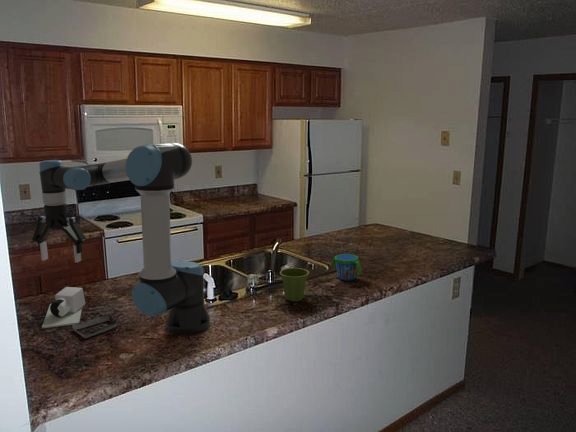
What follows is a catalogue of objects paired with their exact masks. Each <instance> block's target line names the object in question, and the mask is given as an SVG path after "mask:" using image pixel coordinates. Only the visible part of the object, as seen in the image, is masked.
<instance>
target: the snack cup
mask: <svg viewBox="0 0 576 432" xmlns="http://www.w3.org/2000/svg"><path fill="white" fill-rule="evenodd" d="M331 267H332V269H335V268H336V272H337V273H336V276H337V278H338V279H339V280H340V281H344V282H347V281H353V280H355V277H356V276H360V275H361V274H362V273H363V272H362V265H361V262H360V261H359V257H358V256H357V255H355V254H351V253H342V254H341V253H340V254H338V255H335V256H334V257H333V258H332V262H331ZM356 272H357V273H356ZM356 274H357V275H356Z"/></svg>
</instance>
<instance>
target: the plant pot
mask: <svg viewBox="0 0 576 432" xmlns="http://www.w3.org/2000/svg"><path fill="white" fill-rule="evenodd" d="M279 274H280V275H281V280H282V283H283V284H282V286H283V291H284V296H285V299H286V300H287V301H289V302H295V303H296V302H301V301H302V300H303V299H304V296H305V290H306V285H307V284H306V283H307V281H308V277H309V274H310V271H309V270H307V269H305V268H301V267H300V268H299V267H288V268H284V269H281V270H280V271H279Z"/></svg>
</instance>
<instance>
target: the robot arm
mask: <svg viewBox="0 0 576 432" xmlns="http://www.w3.org/2000/svg"><path fill="white" fill-rule="evenodd" d="M38 164H39V173H38V174H39V177H40V178H39V180H40V184H41V185H40V186H41V191H42V192H41V193H42V195H41V196H42V203H43V204H44V205H43V209H44V210H43V211H44V215H41V216H38V217H37V223H36V226H35V227H36V228H35V229H34V233H33V236H32V239H31V240H32V241H33V242H36V243H37V247H38V251H39V252H40V257H41V261H42V262H44V261H47V260H49V254H48V253H49V252H48V246H47V245H48V243H47V241H46V239H47V237H49V235H50V233H51V231H52V230H58V231H63V232H64V233H65V234H66V235H67V236H68V237H69V239H70V240H71V241H72V243H74V244H73V245H72V247H73V254H74V263H79V262H81V261H82V253H83V245H82V244H83V243H86V242H87V238H86V237H85V235H84V233H83V231H82V229H81V228H80V226H79V224H78V221H77V218H76V216H72V217H69V216H68V212H69V211H68V204H67V203H66V202H67V194H66V193H67V192H66V190H73V191H80V190H81V191H82V190H83V191H84V190H85V189H86V188H89V187H94V186H101V185H106V184H111V183H117V182H125V181H130V183H132V184H133V185H134V189H135V191H136V192H137V193H139V195H140V213H141V233H142V234H141V236H142V237H141V238H142V240H141V241H142V257H143V259H142V260H143V268H142V269H141V270H140V271H139V272H138V281H139V282H138V283H136V284H135V285H134V287H133V288H132V289H131V297H132V301H133V304H134V305H135V308H137V309H138V311H139V312H141V313H142V314H143V315H145V316H147V317H157V316H159V315H162V314H165V313H166V312H167V311H168V315H167V318H166V330H167V331H168V332H169V333H172V334H174V335H185V336H187V335H194V334H198V333H201V332H204V331H205V330H208V328H209V327H210V326H211V319H210V315H209V313H208V312H209V311H208V309H207V308H206V305H205V293H204V292H205V291H204V287H205V286H204V272H203V271H204V270H203V266H202V265H201V264H200V263H198V262H194V261H184V260H183V261H182V260H181V261H173V262H172V245H171V242H172V241H171V238H172V237H171V213H170V212H171V210H170V209H171V208H170V206H171V205H170V204H171V203H170V194H171V192H172V191H174V189H175V180H178V179H181V178H183V177H185V176H186V175H187V174H188V173H189V171H190V170H191V168H192V165H193V158H192V155H191V152H190V151H189V149H188V148H187V147H185V146H184V145H183V144H181V143H177V142H166V143H163V142H162V143H149V144H148V143H147V144H143V145H138V146H136V147H135V148H133V149H132V150H131V151H130V152H129V154H127V157H126V158H121V159H118V160H117V159H116V160H111V161H107V162H102V163H95V164H88V165H80V166H79V165H78V166H64V164H63V161H62V160H60V159H48V160H42V161H40V162H39V163H38ZM45 224H46V225H45Z"/></svg>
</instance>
